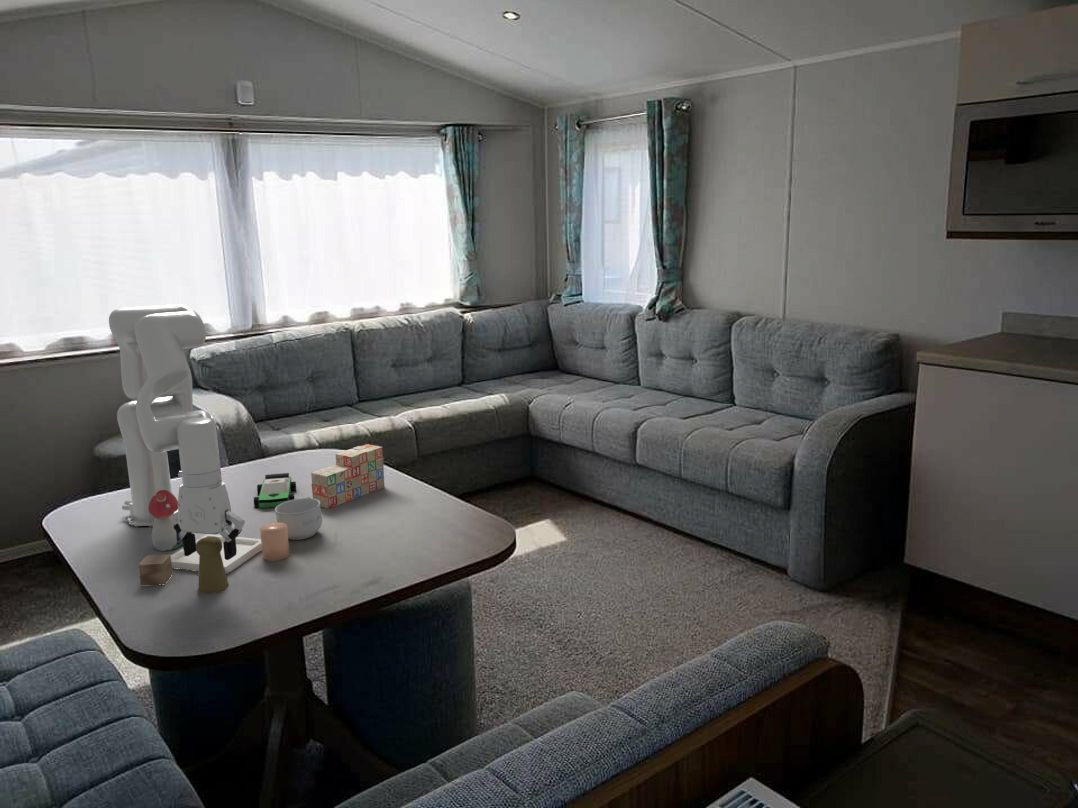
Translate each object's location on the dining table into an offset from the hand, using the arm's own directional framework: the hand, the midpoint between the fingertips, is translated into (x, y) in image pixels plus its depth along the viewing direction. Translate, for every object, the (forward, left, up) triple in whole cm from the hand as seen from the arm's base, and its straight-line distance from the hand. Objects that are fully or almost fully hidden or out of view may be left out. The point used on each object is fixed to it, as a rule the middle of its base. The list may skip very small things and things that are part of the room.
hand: (210, 555), depth 177 cm
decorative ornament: (-24, +17, -8) cm, 31 cm away
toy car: (-18, +55, -8) cm, 58 cm away
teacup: (+3, +32, -8) cm, 33 cm away
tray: (-9, +14, -7) cm, 18 cm away
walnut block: (-14, 0, -7) cm, 16 cm away
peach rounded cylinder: (+4, +18, -7) cm, 20 cm away
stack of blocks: (+1, +60, -8) cm, 61 cm away
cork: (0, 0, -8) cm, 8 cm away
